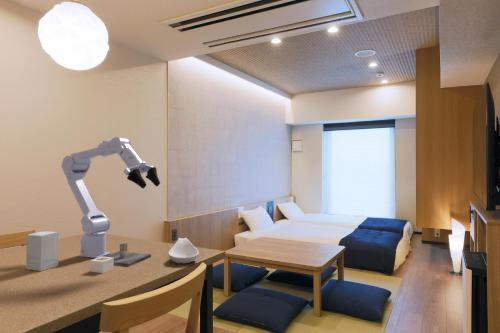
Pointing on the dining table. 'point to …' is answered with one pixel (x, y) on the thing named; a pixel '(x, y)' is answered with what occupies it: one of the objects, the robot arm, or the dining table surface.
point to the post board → (127, 256)
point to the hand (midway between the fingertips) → (151, 185)
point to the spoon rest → (183, 251)
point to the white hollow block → (101, 264)
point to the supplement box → (42, 250)
